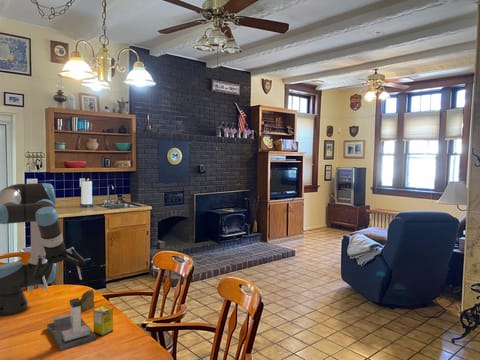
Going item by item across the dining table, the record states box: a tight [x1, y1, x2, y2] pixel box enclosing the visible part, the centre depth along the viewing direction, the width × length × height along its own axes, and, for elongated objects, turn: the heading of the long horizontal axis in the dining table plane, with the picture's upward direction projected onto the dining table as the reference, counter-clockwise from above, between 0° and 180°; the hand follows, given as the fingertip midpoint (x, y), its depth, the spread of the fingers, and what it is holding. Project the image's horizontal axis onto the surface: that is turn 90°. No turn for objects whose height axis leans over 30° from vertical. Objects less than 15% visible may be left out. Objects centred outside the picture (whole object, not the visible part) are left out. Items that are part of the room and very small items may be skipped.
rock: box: [80, 289, 95, 312], centre depth 186 cm, size 11×9×10 cm
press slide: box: [62, 297, 91, 342], centre depth 153 cm, size 5×10×15 cm, turn 129°
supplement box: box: [93, 305, 114, 337], centre depth 161 cm, size 6×6×11 cm
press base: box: [46, 313, 97, 351], centre depth 159 cm, size 24×14×5 cm, turn 39°
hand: (64, 283), depth 157 cm, fingers open, 13 cm apart
